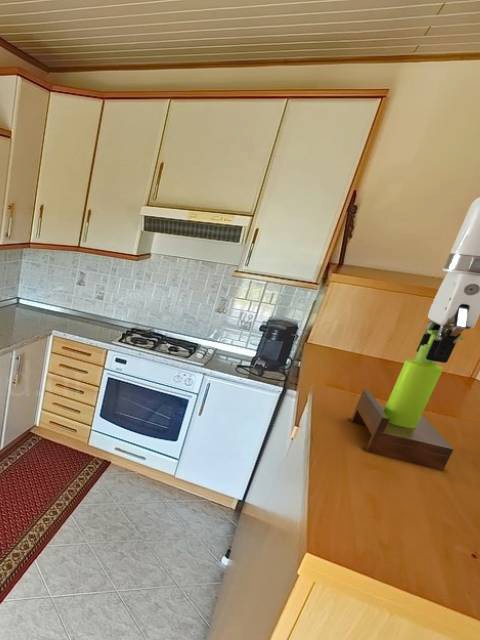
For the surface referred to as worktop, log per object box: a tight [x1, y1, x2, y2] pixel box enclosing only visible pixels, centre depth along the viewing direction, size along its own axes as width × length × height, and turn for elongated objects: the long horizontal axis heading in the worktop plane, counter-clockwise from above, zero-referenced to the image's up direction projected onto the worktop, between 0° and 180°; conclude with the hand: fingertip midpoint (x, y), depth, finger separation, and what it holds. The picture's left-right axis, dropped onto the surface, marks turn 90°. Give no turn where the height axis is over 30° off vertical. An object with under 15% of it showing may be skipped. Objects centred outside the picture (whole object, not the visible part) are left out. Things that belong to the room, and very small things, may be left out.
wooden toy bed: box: [350, 389, 455, 472], centre depth 104 cm, size 12×20×8 cm, turn 151°
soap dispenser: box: [384, 330, 465, 428], centre depth 100 cm, size 6×7×20 cm
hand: (431, 356), depth 98 cm, fingers open, 5 cm apart
